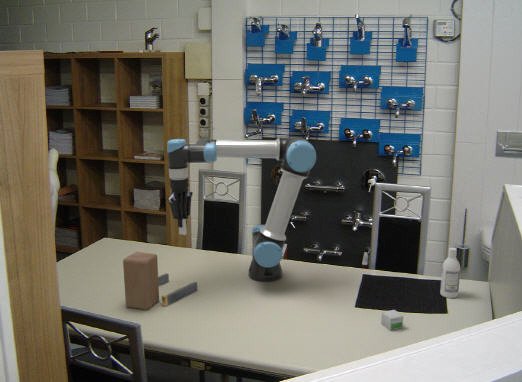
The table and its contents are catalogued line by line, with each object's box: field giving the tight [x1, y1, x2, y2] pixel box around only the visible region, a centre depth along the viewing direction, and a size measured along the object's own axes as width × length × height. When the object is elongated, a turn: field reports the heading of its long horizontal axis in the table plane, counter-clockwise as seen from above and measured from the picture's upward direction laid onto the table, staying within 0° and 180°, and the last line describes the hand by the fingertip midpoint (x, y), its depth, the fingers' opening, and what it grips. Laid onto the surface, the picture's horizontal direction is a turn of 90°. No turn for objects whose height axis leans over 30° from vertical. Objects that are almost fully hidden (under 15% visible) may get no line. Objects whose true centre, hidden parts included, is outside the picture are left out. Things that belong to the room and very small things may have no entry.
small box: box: [380, 309, 404, 331], centre depth 196 cm, size 6×6×5 cm
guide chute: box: [158, 273, 198, 308], centre depth 225 cm, size 18×19×4 cm
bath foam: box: [439, 247, 461, 299], centre depth 221 cm, size 7×7×20 cm
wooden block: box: [122, 251, 160, 311], centre depth 213 cm, size 10×10×20 cm
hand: (183, 234), depth 224 cm, fingers closed
